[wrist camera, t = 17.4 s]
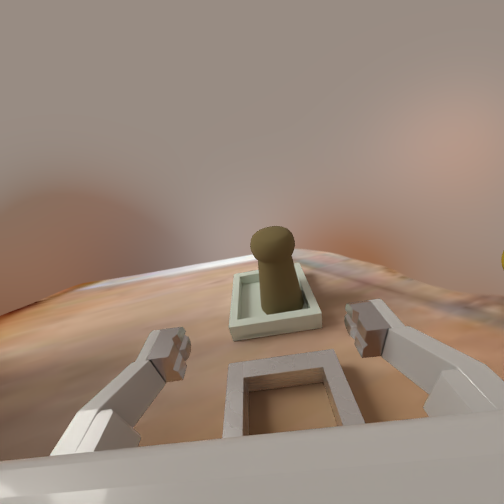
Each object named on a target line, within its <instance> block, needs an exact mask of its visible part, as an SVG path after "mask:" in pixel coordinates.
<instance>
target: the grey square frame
mask: <svg viewBox="0 0 504 504" xmlns="http://www.w3.org/2000/svg"><path fill="white" fill-rule="evenodd" d="M321 382H324V385H325V389H326V392H327V395H328V398H329V401H330V404H331V407H332V410H333V413H334V416H335V419H336V422H337V425H338V426H347V425H357V424H365V422H364V419H363V417H362V415H361V412H360V410H359V408H358V405H357V403H356V401H355V398H354V396H353V394H352V391H351V389H350V387H349V384H348V382H347V380H346V377H345V375H344V373H343V370H342V368H341V365H340V363H339V361H338V358H337V356H336V354H335V351H334V349H329V350H322V351H315V352H308V353H301V354H294V355H287V356H280V357H273V358H266V359H259V360H252V361H245V362H238V363H230V364H229V367H228V379H227V390H226V402H225V414H224V426H223V437H222V438H230V437H240V436H249V392H252V391H259V390H267V389H275V388H282V387H290V386H298V385H306V384H313V383H321Z"/></svg>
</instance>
